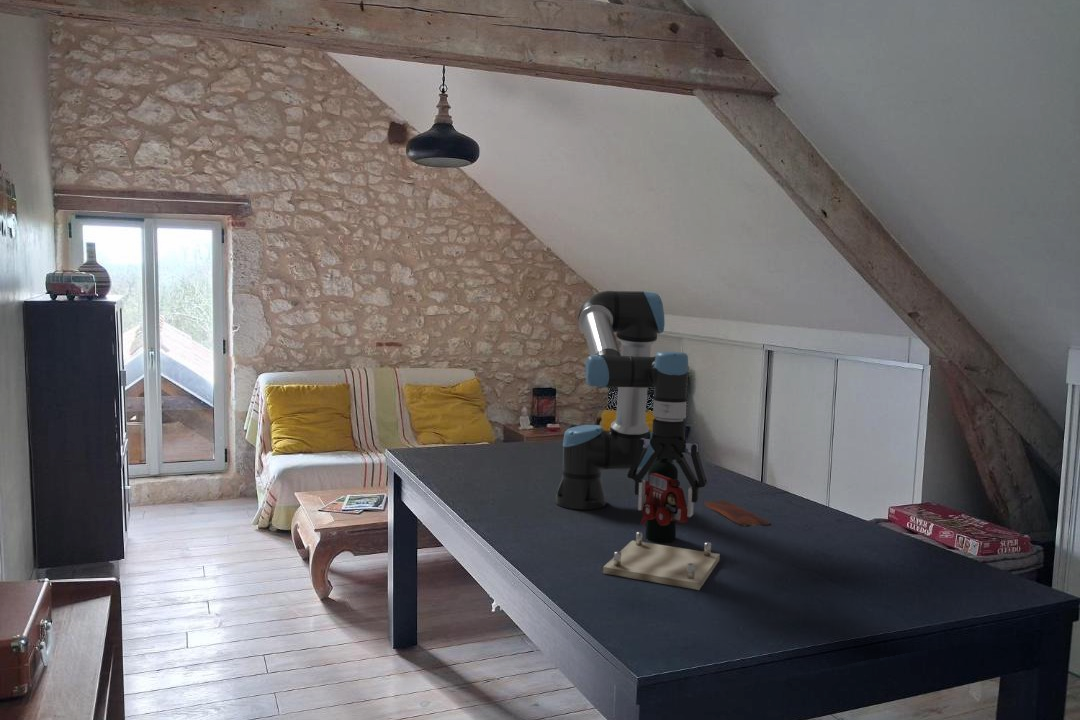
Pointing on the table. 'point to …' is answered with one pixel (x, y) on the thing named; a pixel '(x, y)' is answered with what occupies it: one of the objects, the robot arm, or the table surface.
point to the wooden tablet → (736, 513)
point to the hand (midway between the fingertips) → (665, 512)
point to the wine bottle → (653, 528)
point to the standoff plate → (663, 563)
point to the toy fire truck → (665, 500)
